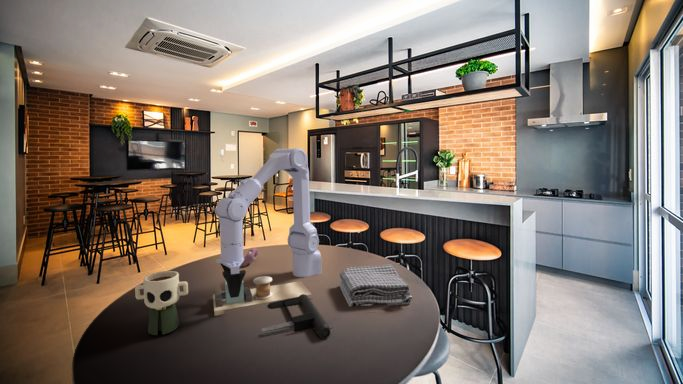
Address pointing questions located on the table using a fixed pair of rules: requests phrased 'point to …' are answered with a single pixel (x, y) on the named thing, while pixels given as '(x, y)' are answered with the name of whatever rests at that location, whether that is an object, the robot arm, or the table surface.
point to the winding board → (276, 296)
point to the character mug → (162, 300)
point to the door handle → (299, 318)
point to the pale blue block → (235, 299)
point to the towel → (374, 286)
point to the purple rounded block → (250, 257)
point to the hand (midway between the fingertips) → (233, 291)
